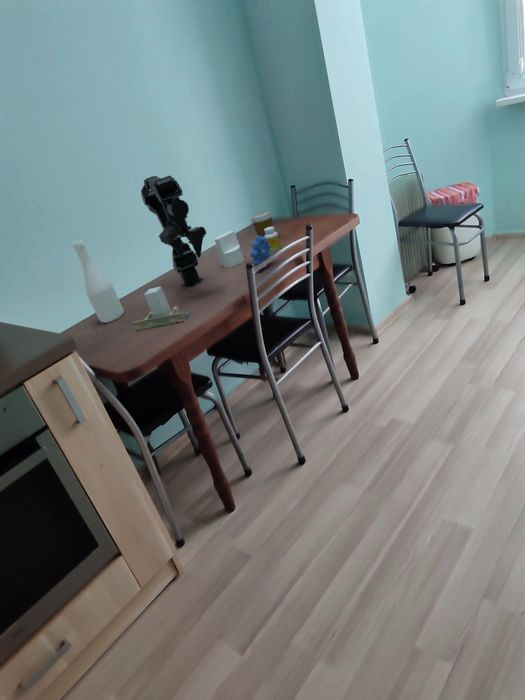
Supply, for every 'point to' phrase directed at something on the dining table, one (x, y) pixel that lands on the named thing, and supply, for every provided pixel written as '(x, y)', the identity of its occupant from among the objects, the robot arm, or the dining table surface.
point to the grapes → (260, 250)
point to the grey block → (157, 302)
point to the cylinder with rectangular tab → (229, 249)
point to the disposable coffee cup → (262, 222)
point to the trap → (161, 319)
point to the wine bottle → (98, 288)
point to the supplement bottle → (272, 239)
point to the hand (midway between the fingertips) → (190, 257)
